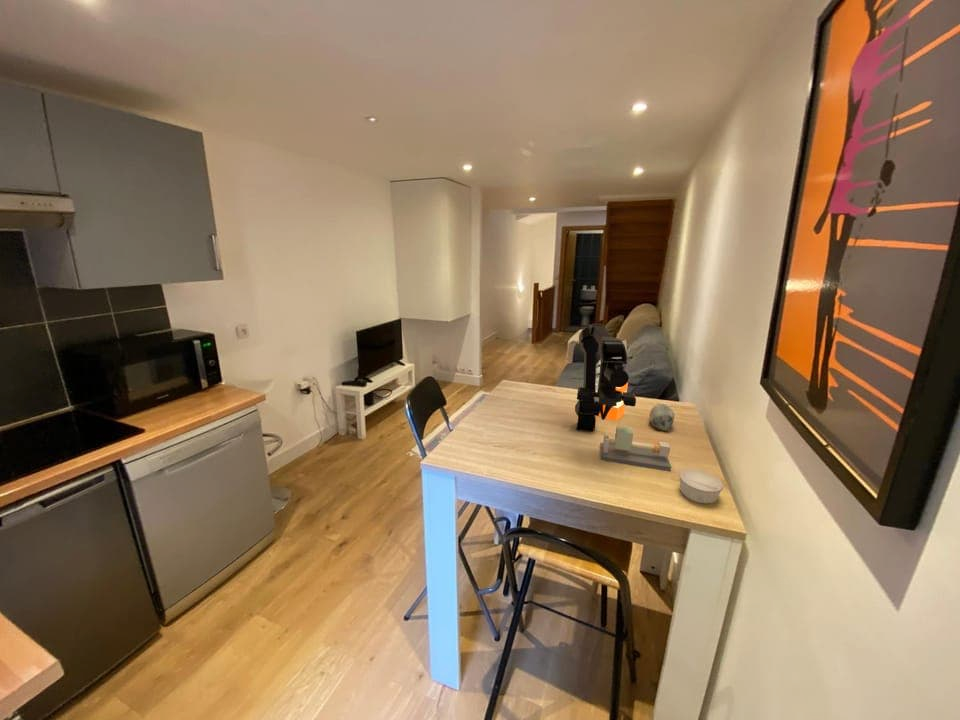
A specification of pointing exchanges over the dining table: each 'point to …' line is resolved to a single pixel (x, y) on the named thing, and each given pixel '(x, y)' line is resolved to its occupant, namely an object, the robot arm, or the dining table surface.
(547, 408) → the dining table surface
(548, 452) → the dining table surface
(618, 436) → the matte sage green cube
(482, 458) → the dining table surface
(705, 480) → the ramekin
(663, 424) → the grey rounded oval lump
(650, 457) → the cord board
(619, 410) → the orange juice
